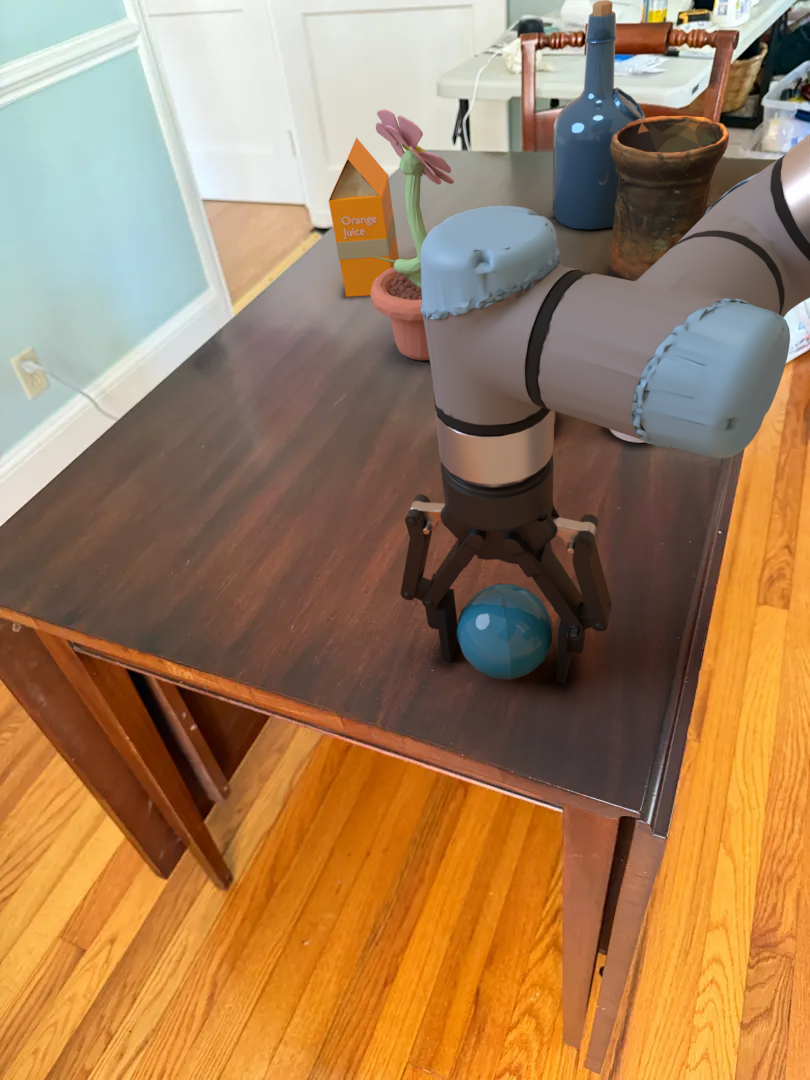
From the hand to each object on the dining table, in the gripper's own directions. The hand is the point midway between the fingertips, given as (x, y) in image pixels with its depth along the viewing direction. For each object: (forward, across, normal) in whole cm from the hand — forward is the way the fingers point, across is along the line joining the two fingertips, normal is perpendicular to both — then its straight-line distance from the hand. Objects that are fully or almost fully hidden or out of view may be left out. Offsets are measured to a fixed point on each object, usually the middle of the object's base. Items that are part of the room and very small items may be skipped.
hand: (506, 658), depth 68 cm
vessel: (+1, -6, -70) cm, 70 cm away
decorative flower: (+1, +21, -49) cm, 53 cm away
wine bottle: (+1, +6, -92) cm, 93 cm away
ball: (0, 0, 0) cm, 0 cm away
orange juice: (+1, +36, -67) cm, 76 cm away
